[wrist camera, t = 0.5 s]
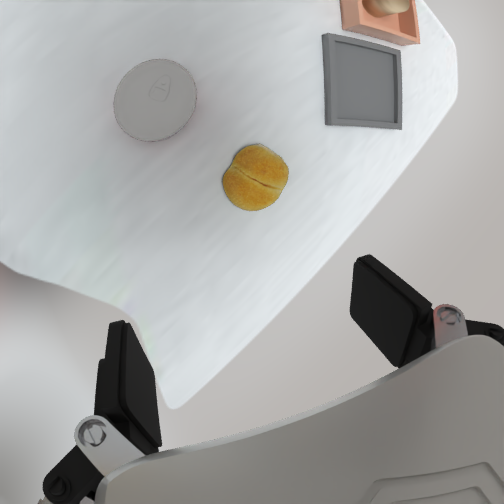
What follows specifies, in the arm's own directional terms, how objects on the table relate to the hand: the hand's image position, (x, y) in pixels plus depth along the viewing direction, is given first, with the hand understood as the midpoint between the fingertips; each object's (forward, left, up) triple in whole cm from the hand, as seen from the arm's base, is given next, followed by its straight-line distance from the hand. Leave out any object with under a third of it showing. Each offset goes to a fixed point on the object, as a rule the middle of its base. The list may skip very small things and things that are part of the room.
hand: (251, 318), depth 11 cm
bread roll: (+2, +9, -30) cm, 32 cm away
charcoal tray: (-12, +27, -30) cm, 42 cm away
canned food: (-9, -3, -30) cm, 32 cm away
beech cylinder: (-27, +30, -29) cm, 50 cm away
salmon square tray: (-27, +30, -30) cm, 50 cm away
